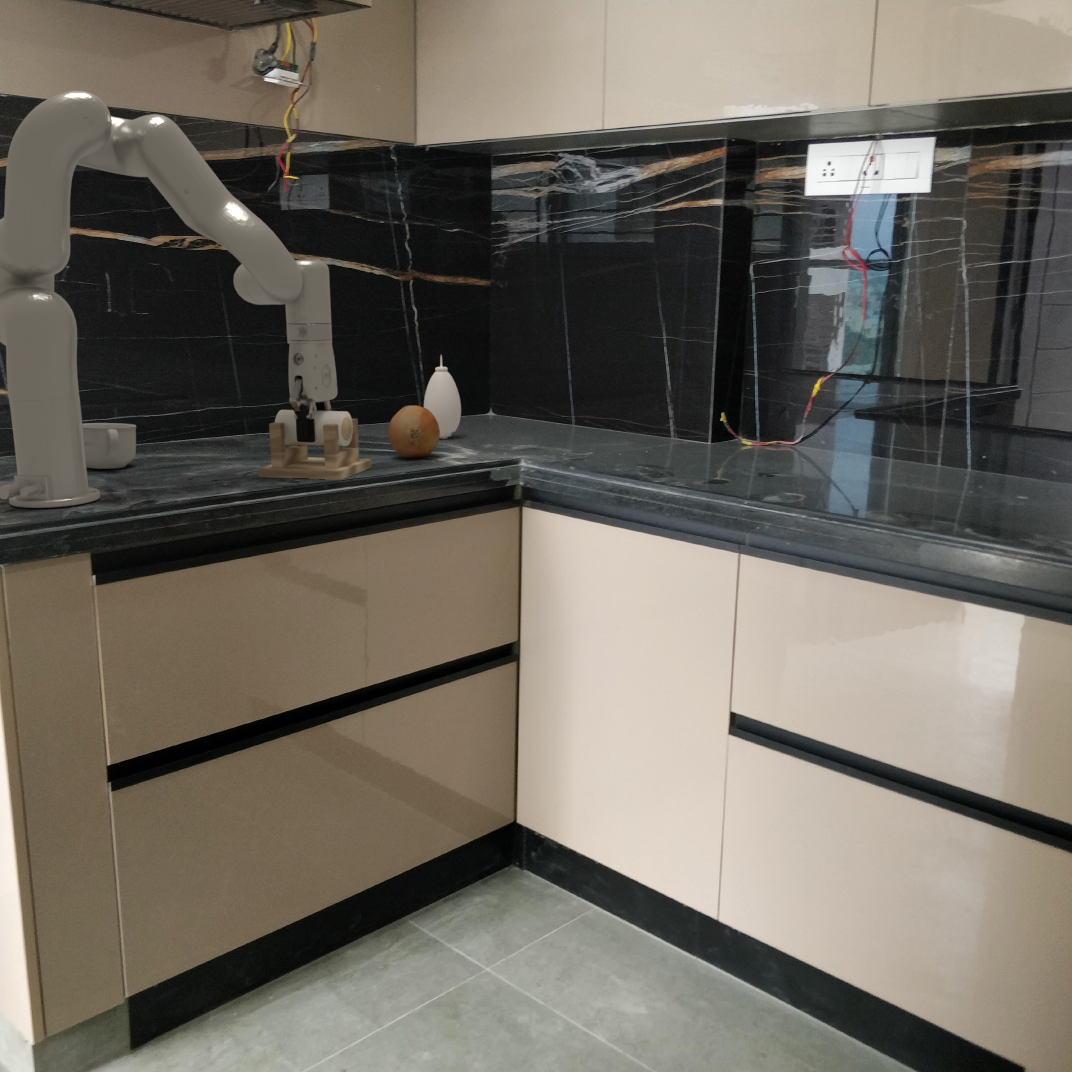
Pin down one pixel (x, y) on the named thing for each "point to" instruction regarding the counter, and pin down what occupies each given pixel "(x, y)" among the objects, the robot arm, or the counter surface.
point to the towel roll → (317, 426)
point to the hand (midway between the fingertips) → (314, 438)
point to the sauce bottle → (443, 401)
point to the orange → (414, 432)
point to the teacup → (109, 444)
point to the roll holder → (301, 466)
